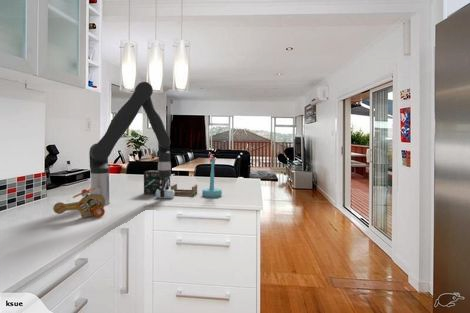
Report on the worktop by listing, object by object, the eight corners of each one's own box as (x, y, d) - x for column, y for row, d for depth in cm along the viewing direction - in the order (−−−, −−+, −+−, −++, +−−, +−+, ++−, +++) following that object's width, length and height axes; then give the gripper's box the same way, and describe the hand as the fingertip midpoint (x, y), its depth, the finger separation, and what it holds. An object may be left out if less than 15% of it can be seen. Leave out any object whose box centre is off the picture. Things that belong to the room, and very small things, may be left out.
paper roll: (173, 199, 175) (175, 192, 178) (171, 196, 171) (173, 188, 174) (157, 199, 176) (158, 191, 179) (154, 195, 172) (156, 187, 175)
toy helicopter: (107, 216, 133) (107, 187, 132) (55, 224, 119) (54, 192, 119) (102, 212, 139) (102, 184, 138) (52, 220, 126) (51, 189, 125)
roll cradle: (193, 196, 181) (193, 186, 181) (170, 195, 182) (170, 186, 182) (197, 193, 191) (197, 184, 191) (175, 192, 192) (175, 183, 192)
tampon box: (164, 192, 194) (164, 170, 193) (159, 194, 184) (159, 172, 184) (149, 191, 195) (149, 170, 194) (143, 194, 186) (143, 171, 185)
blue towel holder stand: (225, 195, 184) (226, 157, 183) (211, 198, 175) (212, 158, 174) (212, 193, 193) (212, 156, 191) (198, 195, 184) (198, 156, 182)
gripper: (162, 167, 180) (162, 193, 181) (154, 170, 166) (154, 197, 167) (174, 167, 179) (174, 193, 180) (166, 170, 165) (166, 198, 166)
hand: (164, 195), depth 174 cm, fingers open, 8 cm apart
